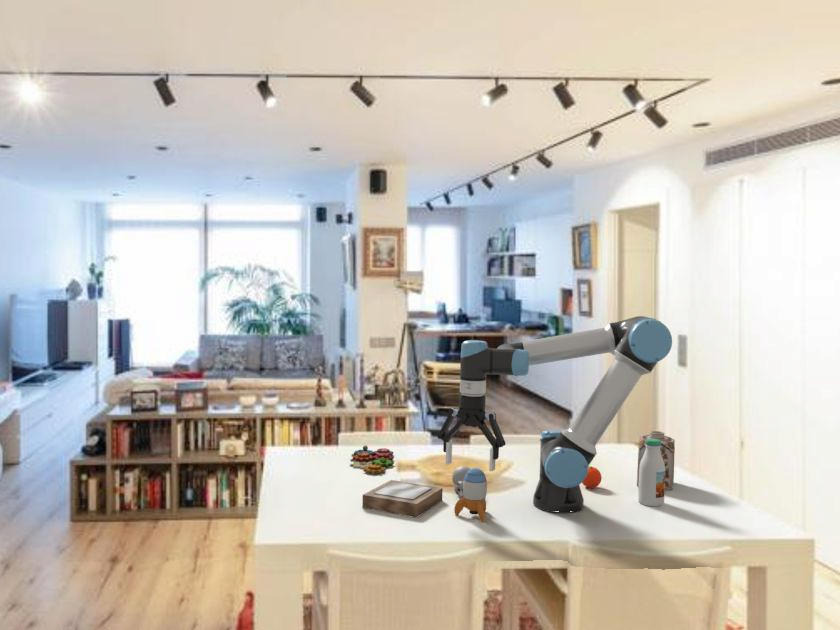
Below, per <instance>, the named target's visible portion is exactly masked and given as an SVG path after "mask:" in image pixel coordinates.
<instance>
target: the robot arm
mask: <svg viewBox="0 0 840 630" xmlns="http://www.w3.org/2000/svg"><path fill="white" fill-rule="evenodd" d="M672 346H673V337H672V334H671V331H670V329H669V328H668V327H667V325H665V324H664V323H663V322H662V321H660V320H658V319H656V318H652V317H648V316H644V315H643V316H641V315H640V316H634V317H631V318H627V319H623V320H619V321H615V322H609V323H607V324H606V326H605V327H601V328H596V329H590V330H584V331H579V332H572V333H565V334H560V335H554V336H548V337H542V338H537V339H530V340H525V341H519V342H513V343H509V342H507V343H503V344H500V345H499V346H498V347H497V348H491V347H489V346H488V342H487V341H485V340H478V339H470V340H469V339H468V340H465V341H463V342H462V343H461V346H460V347H461V348H460V349H461V350H460V364H459V365H460V368H459V369H460V370H459V371H460V372H459V373H460V375H459V376H460V377H459V393H460V395H459V396H458V397H459V398H458V399H459V400H458V404H459V405H458V409H456V408H455V407H451V408H449V409H448V414H447V417H446V419H445V421H444V423H443V425H442V427H441V429H440V430H439V432H438V435H437V439H439V440H441V441H443V446H442V447H443V448H442V450H443V452H444V453H445V465H450V464H452V463H453V461H452V459H453V440H451V438H452V437H453V436H454V435H455V434H456V433H457V432H458V431H459V430H460V429H461V428H463V426H464V427H472V428H476V427H477V428H478V429H479V430H480V431H481V432H482V434H483V436H484V437H485V438H486V439H487V441H488V442H489V444H490V445H491V447H490V448H489V467H488V469H489V472H493V471H494V470H495V469H496V460H498V459H499V457H500V456H499V455H500V448H503V447H505V446H506V441H505V439H504V435H503V434H502V431H501V429H500V426H499V424H498V422H497V415H496V414H497V413H496V412H495V411H494V412H492V413H491V412H489V413H487V412H486V398H487V397H486V396H485V394H486V393H487V375H498V376H499V375H501V376H514V377H518V376H520V377H521V376H522V377H523V376H527V375H528V373H529V367H530V366H537V365H541V364H548V363H555V362H560V361H561V362H562V361H565V360H567V361H568V360H571V359H577V358H584V357H590V356H596V355H597V356H598V355H602V354H607V353H609V354H611V355H613V356H614V357H615V359H614V360H613V361H612V363H611V364H610V367H609V368H608V369H607V370H606V372H605V373H604V375H603V377H602V378H601V380H600V381H599V383H598V384H597V386H596V387H595V389H594V391H593V392H592V394H591V395H590V397H589V398H588V399H587V401H586V403H585V404H584V405H583V406H582V409H581V410H580V412H579V413H578V414H577V416H576V418H575V419H574V421H573V422H572V424H571V425H570V427H569V428H567V429H545V430H543V431H542V432H541V433H540V439H539V442H540V450H539V451H540V452H539V453H540V454H539V455H540V456H539V480H538V482H537V486H536V487H535V491H534V493H533V496H532V497H533V498H532V499H533V500H532V501H533V502H532V504H533V506H534V507H536V508H537V509H540V510H542V509H543V510H542V511H546V510H548V511H547V512H551V511H559V512H558V513H560V512H568V513H571V512H570V511H576V512H579V511H582V510H583V509H584V506H585V505H584V503H585V501H584V497H583V492H582V489H581V484H583V483H582V482H583V481H584V479H585V478H586V476H587V473H588V466H590V465H591V463H592V461H593V460H594V458H595V457H596V456H597V449H596V448H597V447H596V445H597V444H598V442H599V441H600V439H601V438H602V436H603V435H604V433H605V432H606V430H607V429H608V428H609V426H610V424H611V423H612V421H613V420H614V418H615V417H616V415H617V413H618V412H619V411H620V409H621V408H622V406H623V405H624V403H625V402H626V400H627V399H628V397H629V396H630V394H631V392H632V391H633V390H634V388H635V387H636V386H637V383H638V382H639V381H640V379H641V378H642V376H645V375H648V374H651V372H652V371H653V370H654V369H655V367H656V365H657V364H658V362H661V361H662V360H663V359H665V358H666V357H667V356H668V354H670V351H671V349H672V348H673V347H672ZM457 415H458V417H459V420H458V421H457V422H456V424H455V425H453V427H452V428H451V429H450V431H449V432H448V430H449V428H450V426H451V424H452V422H453V421H454V419H455V417H456V416H457ZM485 419H487V421H488V422H489V425H490V427H491V430H492V431H491V430H490V429H489V427H488V425H487V423H486V422H485ZM447 432H448V433H447ZM492 432H493V433H492ZM582 508H583V509H582ZM578 510H579V511H578Z"/></svg>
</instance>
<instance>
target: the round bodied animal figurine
mask: <svg viewBox="0 0 840 630" xmlns="http://www.w3.org/2000/svg"><path fill="white" fill-rule="evenodd" d="M470 469H471V468H470V467H469V466H467V465H466V466H465V465H461V466H458V467H456V468H455V469H454V470H453V472H452V475H451V479H452V483H453V484H454V492H455V493H456V494H457V496H458V498H459V500H460V499H461V498H464V495H463V482H464V477H465V475H466V473H467V471H469V470H470Z"/></svg>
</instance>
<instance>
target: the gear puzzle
mask: <svg viewBox="0 0 840 630" xmlns="http://www.w3.org/2000/svg"><path fill="white" fill-rule="evenodd" d="M393 455H394V451H393V450H390V449H389V448H386V447H384V448H383V447H382V448H381V447H380V448H378V449H377V450H374V451H373V450H370V449H369V447H368V445H365V444H364V445H363V446H362V449H358V450H355V451H354V452H353V453H351V457H352V458H350V462H353V463H350V464H349V467H352V468H353V469H359V470H362V471H363V472H366V474H373V475H374V474H382V473H386V470H387V469H393V468H394V464H395V461H394V459H395V458H394V456H393ZM392 456H393V457H392Z"/></svg>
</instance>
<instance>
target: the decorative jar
mask: <svg viewBox="0 0 840 630" xmlns="http://www.w3.org/2000/svg"><path fill="white" fill-rule="evenodd" d="M648 438H654V439H659V440H661V447H660V453H661V456H662V458H663V461H664V464H665V491H674V480H675V479H674V478H675V477H674V476H675V453H676V451H675V442H676V441H675V439H674V438H672V437H670V436H667V435H665V432H663V431H660V430H658V431H657V430H651V431H649V434H644V435H640V436H639V440H638V447H637V448H638V454H637V472H636V487H637V488H639V468H640V462H641V459H642V457H643V455H644V453H645V450H646V446H645V445H646V444H645V440H646V439H648Z"/></svg>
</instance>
